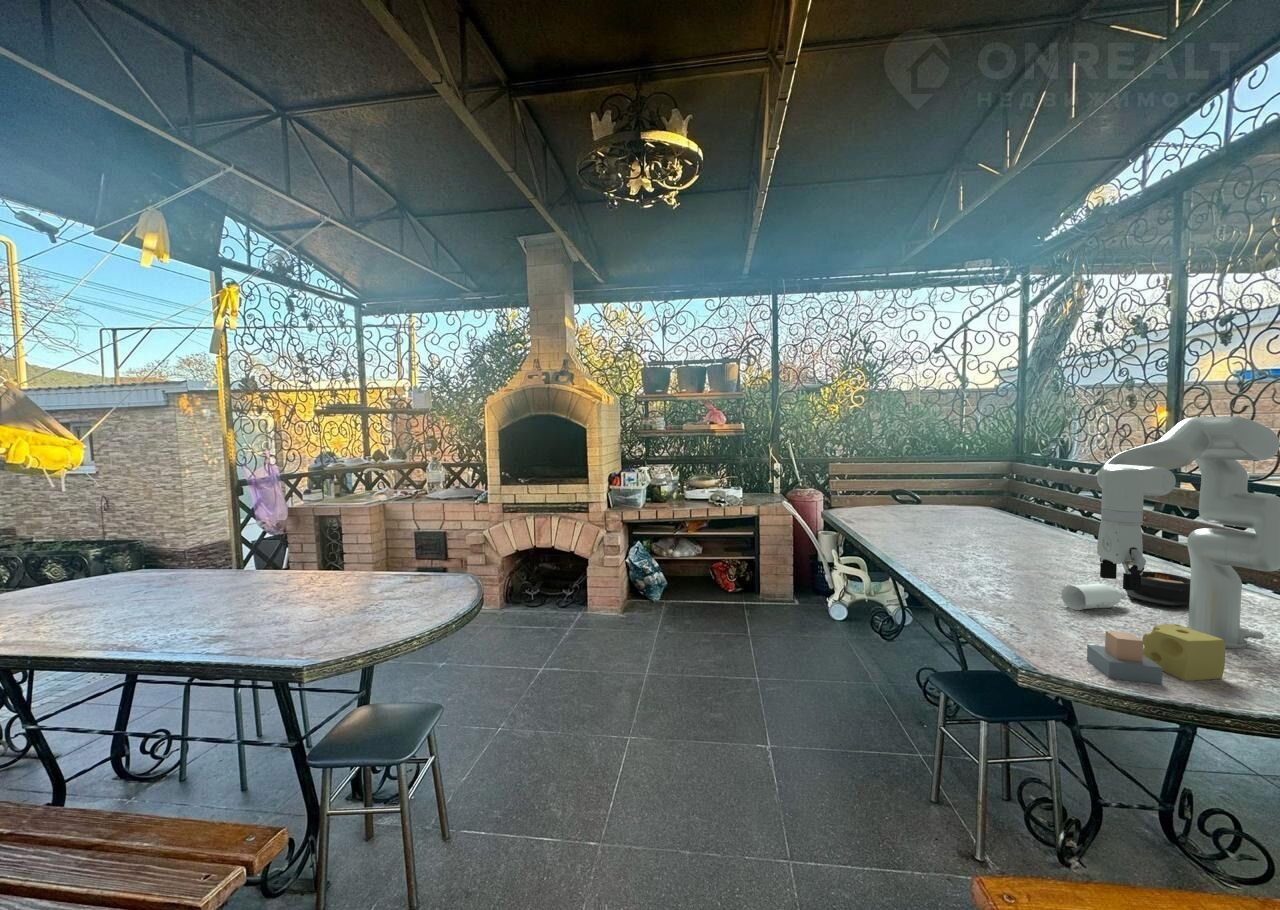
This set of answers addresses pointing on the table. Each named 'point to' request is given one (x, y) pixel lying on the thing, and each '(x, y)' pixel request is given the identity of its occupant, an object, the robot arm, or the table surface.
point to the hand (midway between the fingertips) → (1119, 583)
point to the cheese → (1185, 652)
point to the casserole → (1163, 589)
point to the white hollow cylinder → (1091, 596)
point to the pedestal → (1124, 666)
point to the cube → (1124, 646)
